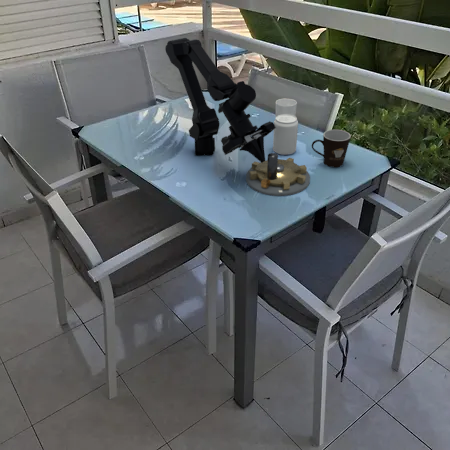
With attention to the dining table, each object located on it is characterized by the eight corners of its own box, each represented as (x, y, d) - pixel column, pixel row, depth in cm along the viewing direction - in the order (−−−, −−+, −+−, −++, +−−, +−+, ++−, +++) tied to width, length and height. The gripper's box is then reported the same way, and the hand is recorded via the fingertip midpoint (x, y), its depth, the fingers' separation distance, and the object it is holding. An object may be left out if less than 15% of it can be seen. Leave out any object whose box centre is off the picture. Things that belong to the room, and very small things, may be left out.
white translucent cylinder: (272, 123, 186) (273, 98, 180) (292, 122, 187) (294, 97, 181) (276, 132, 180) (277, 106, 174) (296, 130, 180) (298, 105, 175)
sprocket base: (246, 196, 143) (247, 192, 142) (245, 164, 159) (245, 161, 158) (314, 195, 142) (314, 191, 142) (305, 163, 159) (305, 160, 158)
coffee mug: (348, 158, 161) (352, 131, 155) (344, 170, 154) (348, 142, 149) (313, 154, 164) (316, 127, 159) (309, 165, 158) (311, 137, 152)
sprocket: (250, 190, 143) (250, 162, 137) (248, 162, 157) (248, 135, 152) (310, 189, 142) (313, 161, 137) (303, 161, 157) (305, 134, 152)
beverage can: (295, 156, 163) (297, 123, 156) (271, 155, 164) (272, 122, 158) (296, 146, 170) (299, 114, 163) (274, 144, 171) (275, 113, 164)
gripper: (244, 121, 156) (269, 162, 156) (202, 139, 146) (228, 183, 146) (263, 104, 147) (289, 147, 147) (219, 121, 137) (247, 168, 136)
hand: (263, 161), depth 144 cm, fingers closed
